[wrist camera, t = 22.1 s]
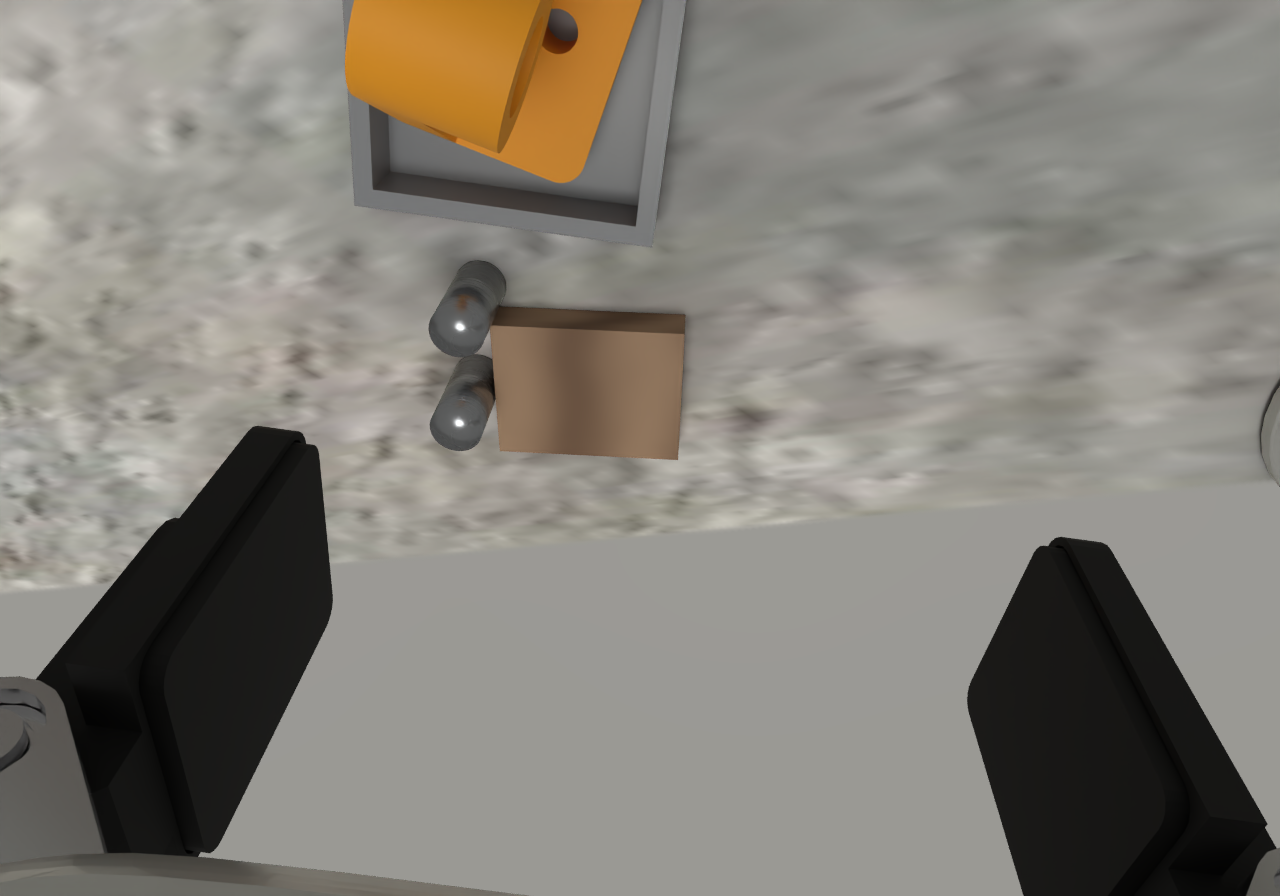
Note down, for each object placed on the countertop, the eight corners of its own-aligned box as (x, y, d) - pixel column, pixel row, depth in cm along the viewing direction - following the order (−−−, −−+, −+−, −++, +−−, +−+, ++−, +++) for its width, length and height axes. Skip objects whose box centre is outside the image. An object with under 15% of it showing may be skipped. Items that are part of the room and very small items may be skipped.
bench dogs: (507, 264, 42) (485, 310, 38) (501, 399, 46) (481, 454, 42) (456, 257, 42) (428, 302, 38) (454, 392, 46) (430, 447, 42)
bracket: (582, 170, 39) (540, 283, 29) (420, 105, 38) (317, 199, 28) (678, -102, 33) (665, -79, 23) (488, -189, 32) (390, -204, 22)
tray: (719, -239, 31) (719, -246, 28) (655, 222, 40) (652, 247, 38) (355, -294, 31) (324, -306, 28) (376, 183, 40) (354, 205, 38)
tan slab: (685, 310, 43) (684, 334, 41) (679, 432, 47) (677, 459, 45) (500, 302, 43) (489, 325, 41) (508, 424, 47) (499, 450, 45)
